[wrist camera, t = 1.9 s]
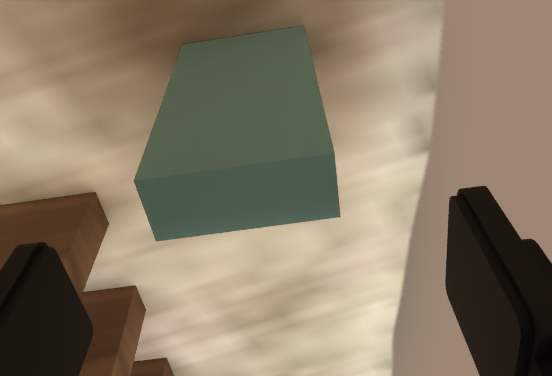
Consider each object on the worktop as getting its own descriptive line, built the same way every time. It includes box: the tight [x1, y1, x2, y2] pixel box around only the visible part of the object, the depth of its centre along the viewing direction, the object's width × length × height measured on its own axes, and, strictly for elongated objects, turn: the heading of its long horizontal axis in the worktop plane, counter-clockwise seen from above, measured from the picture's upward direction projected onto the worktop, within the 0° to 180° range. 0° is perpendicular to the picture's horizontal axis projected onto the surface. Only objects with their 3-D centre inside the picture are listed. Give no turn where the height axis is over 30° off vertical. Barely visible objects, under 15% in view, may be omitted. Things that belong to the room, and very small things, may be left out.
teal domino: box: [134, 26, 340, 241], centre depth 17 cm, size 2×5×10 cm, turn 98°
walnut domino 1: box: [0, 192, 109, 298], centre depth 22 cm, size 2×5×10 cm, turn 98°
